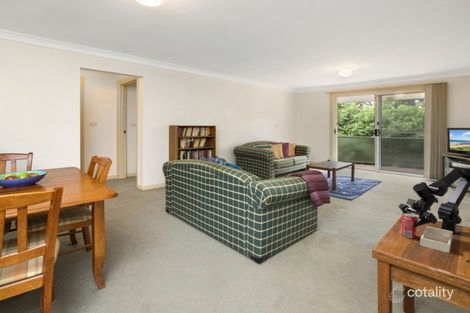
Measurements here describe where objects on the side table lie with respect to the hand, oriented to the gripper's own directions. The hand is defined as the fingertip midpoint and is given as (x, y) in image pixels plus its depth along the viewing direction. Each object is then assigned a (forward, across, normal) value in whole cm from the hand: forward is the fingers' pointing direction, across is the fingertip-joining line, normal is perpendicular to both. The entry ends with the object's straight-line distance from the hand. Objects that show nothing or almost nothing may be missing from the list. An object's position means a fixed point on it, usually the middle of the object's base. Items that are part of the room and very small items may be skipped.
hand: (406, 224), depth 135 cm
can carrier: (-2, +9, +11) cm, 15 cm away
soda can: (+4, 0, +6) cm, 7 cm away
